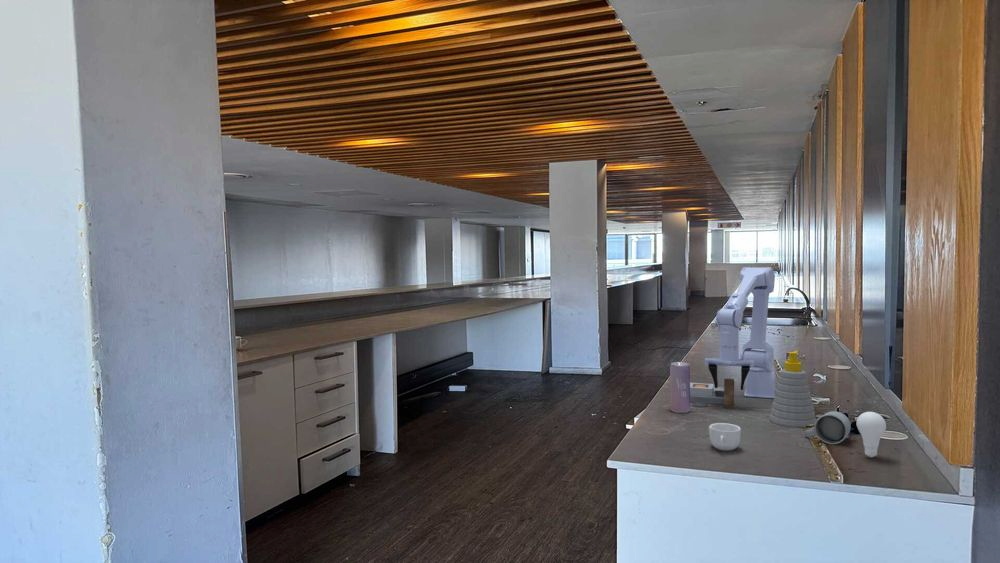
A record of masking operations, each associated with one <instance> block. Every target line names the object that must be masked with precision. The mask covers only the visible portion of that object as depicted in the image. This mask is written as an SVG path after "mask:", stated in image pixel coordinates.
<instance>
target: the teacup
mask: <svg viewBox="0 0 1000 563" xmlns="http://www.w3.org/2000/svg"><path fill="white" fill-rule="evenodd" d="M708 434H709V435H708V436H709V437H708V438H709V442H710V444H711V445H712V446H713V447H714V448H716V449H717V450H720V451H725V452H726V451H728V452H729V451H731V452H732V451H734V450H735V449H737V448H738V447H739V445H740V442H741V436H742V429H741V427H740V426H739V425H737V424H733V423H732V424H731V423H728V422H727V423H726V422H717V423H716V422H715V423H712V424H710V425H709V426H708Z"/></svg>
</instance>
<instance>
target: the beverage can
mask: <svg viewBox="0 0 1000 563" xmlns="http://www.w3.org/2000/svg"><path fill="white" fill-rule="evenodd" d="M669 366H670V367H669V373H670V374H669V379H670V380H669V381H670V382H669V383H670V387H669V390H670V391H669V394H670V398H669V399H670V400H669V401H670V402H669V403H670V404H669V405H670V406H669V407H670V411H671V412H673V413H677V414H687V413H689V412H690V411H691V402H690V383H691V366H690V363H688V362H682V361H677V362H676V361H674V362H671V363H670V365H669Z"/></svg>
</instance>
